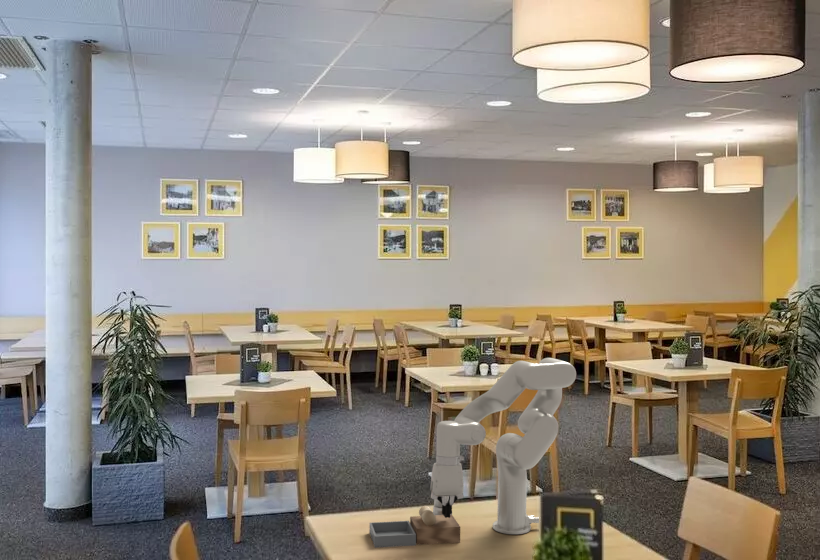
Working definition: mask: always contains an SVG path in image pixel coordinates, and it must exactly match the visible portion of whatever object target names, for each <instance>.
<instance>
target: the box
mask: <svg viewBox="0 0 820 560" xmlns="http://www.w3.org/2000/svg"><path fill="white" fill-rule="evenodd" d="M369 536H370V538H371V541H373V542H372V545H373V547H374V548H375V549H376V548H391V547H392V548H393V547H394V548H395V547H410V546H417V544H416V533H415V531H414V530H413V528H412V526H411V524H410V520H400V521H399V520H398V521H396V520H395V521H393V520H392V521H379V522H378V521H377V522H369Z"/></svg>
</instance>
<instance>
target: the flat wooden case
mask: <svg viewBox="0 0 820 560" xmlns="http://www.w3.org/2000/svg"><path fill="white" fill-rule="evenodd" d="M435 517H436V522H435V524H434V525H432V526H427V525H425V523H424V522H423V520H422V518H421V516H420V515H415V516H410V517H409V522H410V524H411V526H412V528H413V530H414V531H415V533H416V546H417V545H420V546H421V545H434V544H435V545H437V544H458V543H461V526H460V524H459V523H458V521H457V519H455V517H454V516H453V514H452V515H450V518H448V517H447V518H445V517H444V515H435Z"/></svg>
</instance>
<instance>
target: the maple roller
mask: <svg viewBox="0 0 820 560" xmlns="http://www.w3.org/2000/svg"><path fill="white" fill-rule="evenodd" d="M418 514H419V515H418V516H421V518H422V520H423V522H424V523H425V525H427V526H432V525H434V524H435V522H436V517H435V515H434V514H433V510H432V509H431V508H430V507H429V506H428V505H424V506H421V507H420V508H419V512H418Z"/></svg>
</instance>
